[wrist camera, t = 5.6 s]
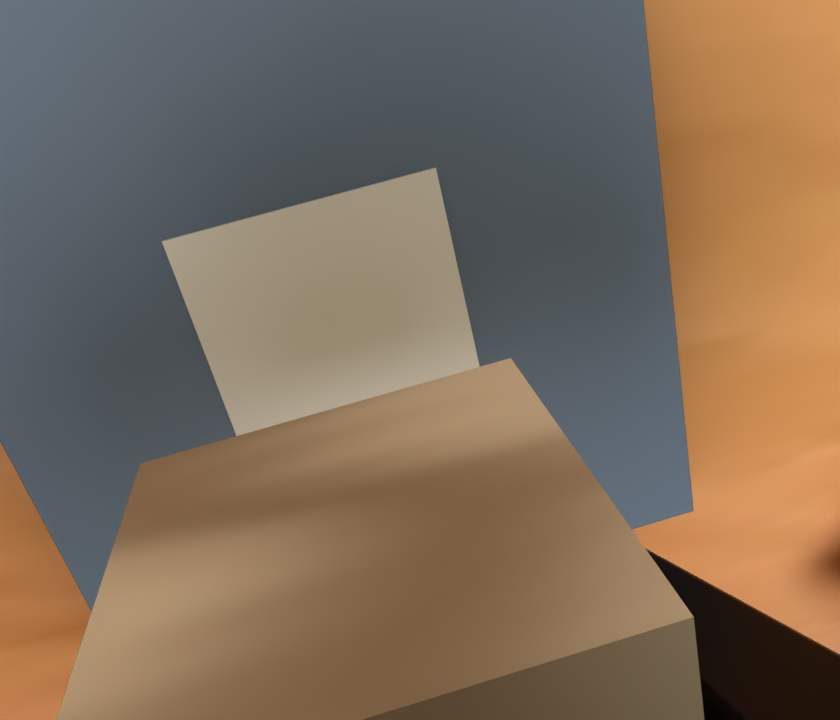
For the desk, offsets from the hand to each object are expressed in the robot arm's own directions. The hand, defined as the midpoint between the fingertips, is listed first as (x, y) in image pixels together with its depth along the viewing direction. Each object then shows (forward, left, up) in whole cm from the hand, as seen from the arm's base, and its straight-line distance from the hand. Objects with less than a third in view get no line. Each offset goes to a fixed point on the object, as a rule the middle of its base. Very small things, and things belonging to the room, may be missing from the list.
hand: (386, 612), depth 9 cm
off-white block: (0, 0, -1) cm, 1 cm away
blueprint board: (0, 0, -10) cm, 11 cm away
